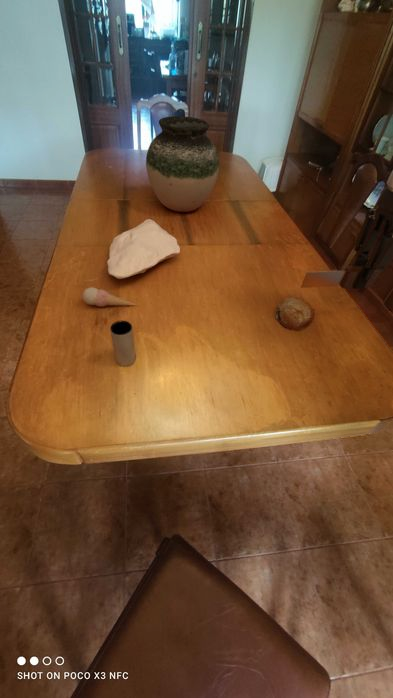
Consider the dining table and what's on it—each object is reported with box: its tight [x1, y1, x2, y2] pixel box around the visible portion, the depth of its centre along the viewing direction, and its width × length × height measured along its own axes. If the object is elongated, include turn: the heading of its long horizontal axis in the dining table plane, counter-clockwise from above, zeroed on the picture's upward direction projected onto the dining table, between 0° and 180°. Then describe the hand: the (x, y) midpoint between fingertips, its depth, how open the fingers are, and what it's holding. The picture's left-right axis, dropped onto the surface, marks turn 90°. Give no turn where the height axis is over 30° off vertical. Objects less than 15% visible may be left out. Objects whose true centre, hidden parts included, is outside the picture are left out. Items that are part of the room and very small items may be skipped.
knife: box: [300, 265, 381, 289], centre depth 80 cm, size 19×2×5 cm, turn 99°
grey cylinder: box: [109, 320, 137, 367], centre depth 71 cm, size 4×4×10 cm
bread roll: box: [275, 296, 315, 331], centre depth 87 cm, size 10×10×8 cm
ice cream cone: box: [82, 287, 139, 308], centre depth 86 cm, size 5×5×15 cm
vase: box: [145, 115, 220, 213], centre depth 124 cm, size 28×28×30 cm
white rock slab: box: [107, 218, 181, 280], centre depth 101 cm, size 24×35×9 cm
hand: (355, 284), depth 83 cm, fingers closed on knife, 2 cm apart
